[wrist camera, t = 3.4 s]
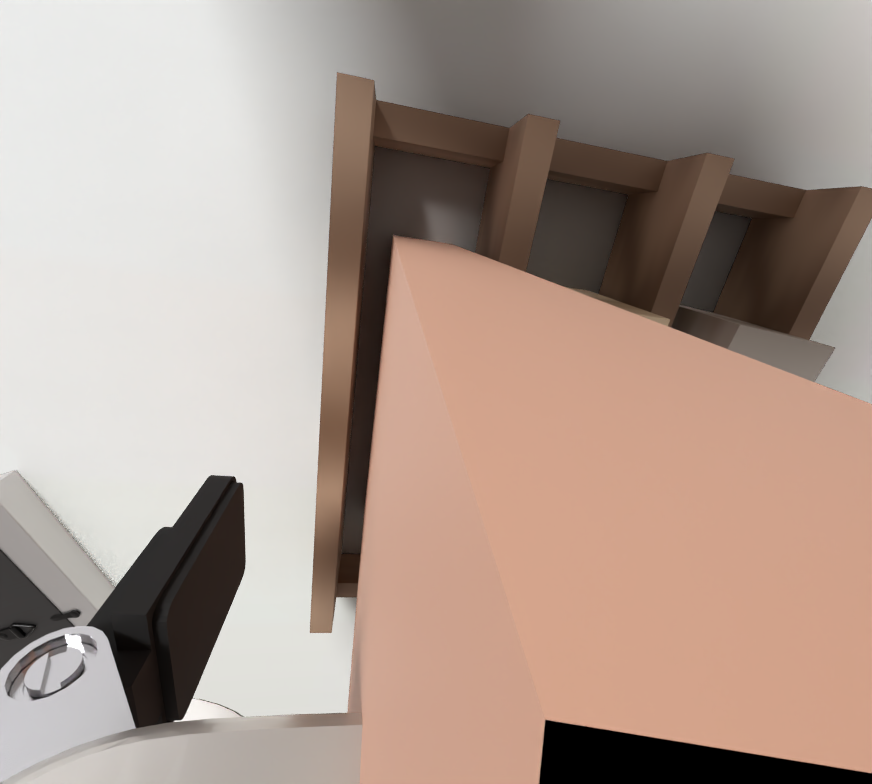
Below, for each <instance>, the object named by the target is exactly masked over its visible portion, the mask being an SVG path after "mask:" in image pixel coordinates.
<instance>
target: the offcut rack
mask: <svg viewBox="0 0 872 784" xmlns="http://www.w3.org/2000/svg"><path fill="white" fill-rule="evenodd" d="M559 124H560V121H559V120H554V119H549V118H545V117H540V116H536V115H531V114H528V115H526V116H525V117H524V118H522V119H521V120H520V121H518V122H517V123H516V124H514V125H513V126H512V127H510V128H507V127H502V126H498V125H493V124H488V123H483V122H478V121H474V120H469V119H464V118H459V117H455V116H450V115H445V114H440V113H436V112H431V111H426V110H421V109H417V108H412V107H407V106H402V105H397V104H393V103H388V102H383V101H378V100H376V95H375V85H374V80H370V79H365V78H361V77H356V76H352V75H347V74H342V73H338V72H337V84H336V105H335V126H334V146H333V167H332V187H331V208H330V228H329V249H328V270H327V290H326V311H325V331H324V352H323V373H322V393H321V414H320V434H319V455H318V475H317V496H316V517H315V537H314V558H313V578H312V599H311V619H310V633H331V632H332V625H333V617H334V610H335V603H336V597H357V590H358V578H359V566H360V554H341V553H342V541H343V529H344V517H345V505H346V492H347V480H348V468H349V456H350V444H351V432H352V419H353V407H354V395H355V383H356V371H357V358H358V346H359V334H360V322H361V310H362V298H363V285H364V273H365V261H366V249H367V237H368V224H369V212H370V200H371V188H372V176H373V163H374V151H375V146H378V147H383V148H388V149H393V150H399V151H404V152H409V153H414V154H420V155H425V156H430V157H435V158H440V159H446V160H451V161H456V162H461V163H466V164H472V165H477V166H482V167H487V168H490V171H489V177H488V182H487V188H486V194H485V199H484V205H483V210H482V216H481V222H480V227H479V233H478V238H477V244H476V250H475V253H477V254H479V255H482V256H485V257H487V258H490V259H492V260H495V261H498V262H500V263H503V264H506V265H508V266H511V267H513V268H516V269H519V270H521V271H524V272H526V269H527V265H528V260H529V256H530V251H531V247H532V243H533V238H534V234H535V229H536V225H537V221H538V216H539V212H540V207H541V203H542V199H543V194H544V190H545V185H546V181H547V179H550V180H555V181H560V182H565V183H571V184H576V185H581V186H586V187H592V188H597V189H602V190H607V191H612V192H618V193H623V194H628V198H627V201H626V204H625V208H624V211H623V214H622V218H621V221H620V224H619V228H618V231H617V234H616V238H615V241H614V244H613V248H612V251H611V254H610V258H609V261H608V265H607V268H606V271H605V275H604V278H603V281H602V285H601V288H600V291H599V294H600V295H603V296H605V297H608V298H611V299H614V300H617V301H620V302H622V303H625V304H628V305H631V306H634V307H637V308H639V309H642V310H645V311H648V312H651V313H654V314H656V315H659V316H662V317H665V318H668V319H670V322H669V324H668V327H671V326H672V324H673V321H674V318H675V316H676V313H677V311H678V308H679V305H680V303H681V300H682V297H683V295H684V292H685V289H686V287H687V284H688V281H689V279H690V276H691V273H692V271H693V268H694V265H695V263H696V260H697V257H698V255H699V252H700V249H701V247H702V244H703V241H704V239H705V236H706V234H707V231H708V228H709V226H710V223H711V220H712V218H713V215H714V212H715V211H717V212H722V213H727V214H732V215H737V216H743V217H748V218H752V219H751V222H750V224H749V227H748V229H747V232H746V234H745V236H744V239H743V241H742V244H741V246H740V249H739V251H738V253H737V256H736V258H735V261H734V263H733V266H732V268H731V271H730V273H729V275H728V278H727V280H726V283H725V285H724V288H723V290H722V292H721V295H720V297H719V300H718V302H717V305H716V307H715V309H714V312H713V313H716V314H720V315H723V316H727V317H730V318H734V319H737V320H741V321H744V322H748V323H751V324H755V325H758V326H762V327H765V328H769V329H772V330H776V331H779V332H783V333H786V334H789V335H793V336H796V337H800V338H803V339H807V340H809V339H810V337H811V335H812V333H813V331H814V329H815V328H816V326H817V324H818V322H819V320H820V318H821V316H822V314H823V312H824V310H825V308H826V306H827V304H828V302H829V300H830V298H831V296H832V294H833V292H834V291H835V289H836V287H837V285H838V283H839V281H840V279H841V277H842V275H843V273H844V271H845V269H846V267H847V265H848V263H849V261H850V259H851V257H852V255H853V254H854V252H855V250H856V248H857V246H858V244H859V242H860V240H861V238H862V236H863V234H864V232H865V230H866V228H867V226H868V224H869V222H870V220H871V218H872V188H867V187H862V186H860V187H845V188H831V189H817V190H803V189H798V188H793V187H788V186H783V185H779V184H774V183H769V182H764V181H760V180H755V179H750V178H745V177H741V176H736V175H731V174H729V172H730V170H731V167H732V164H733V162H734V158H729V157H724V156H720V155H715V154H711V153H704V154H699V155H695V156H690V157H685V158H680V159H675V160H671V161H664V160H660V159H655V158H650V157H645V156H641V155H636V154H631V153H626V152H621V151H617V150H612V149H607V148H602V147H598V146H593V145H588V144H583V143H579V142H574V141H569V140H564V139H559V138H556V137H557V133H558V128H559Z"/></svg>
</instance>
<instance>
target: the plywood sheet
mask: <svg viewBox="0 0 872 784" xmlns="http://www.w3.org/2000/svg"><path fill="white" fill-rule="evenodd" d="M360 712H361V714H362V744H361V765H360V784H539V778H540V767H541V757H542V747H543V737H544V727H545V720H551V721H557V722H563V723H569V724H575V725H581V726H585V727H586V729H587V732H588V734H589V737H590V739H591V742H592V744H593V747H594V749H595V752H596V754H597V756H598V759H599V761H600V764H601V766H602V769H603V771H604V774H605V776H606V779H607V781H608V784H872V404H870V403H867V402H865V401H862V400H859V399H857V398H854V397H851V396H849V395H846V394H844V393H841V392H838V391H836V390H833V389H831V388H828V387H825V386H823V385H820V384H817V383H815V382H812V381H810V380H807V379H804V378H802V377H799V376H796V375H794V374H791V373H789V372H786V371H783V370H781V369H778V368H775V367H773V366H770V365H768V364H765V363H762V362H760V361H757V360H755V359H752V358H749V357H747V356H744V355H741V354H739V353H736V352H734V351H731V350H728V349H726V348H723V347H720V346H718V345H715V344H713V343H710V342H707V341H705V340H702V339H699V338H697V337H694V336H692V335H689V334H686V333H684V332H681V331H679V330H676V329H673V328H671V327H668V326H665V325H663V324H660V323H658V322H655V321H652V320H650V319H647V318H644V317H642V316H639V315H637V314H634V313H631V312H629V311H626V310H623V309H621V308H618V307H616V306H613V305H610V304H608V303H605V302H603V301H600V300H597V299H595V298H592V297H589V296H587V295H584V294H582V293H579V292H576V291H574V290H571V289H568V288H566V287H563V286H561V285H558V284H555V283H553V282H550V281H547V280H545V279H542V278H540V277H537V276H534V275H532V274H529V273H527V272H524V271H521V270H519V269H516V268H513V267H511V266H508V265H506V264H503V263H500V262H498V261H495V260H492V259H490V258H487V257H485V256H482V255H479V254H477V253H474V252H471V251H469V250H466V249H464V248H461V247H458V246H456V245H453V244H448V243H441V242H435V241H429V240H423V239H416V238H410V237H404V236H397V235H393V237H392V247H391V256H390V266H389V275H388V285H387V295H386V304H385V314H384V324H383V333H382V343H381V352H380V362H379V372H378V381H377V391H376V401H375V410H374V420H373V429H372V439H371V449H370V458H369V468H368V478H367V487H366V497H365V506H364V517H363V530H362V542H361V554H360V566H359V578H358V590H357V603H356V615H355V627H354V639H353V651H352V664H351V676H350V688H349V700H348V712H347V713H360Z"/></svg>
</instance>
